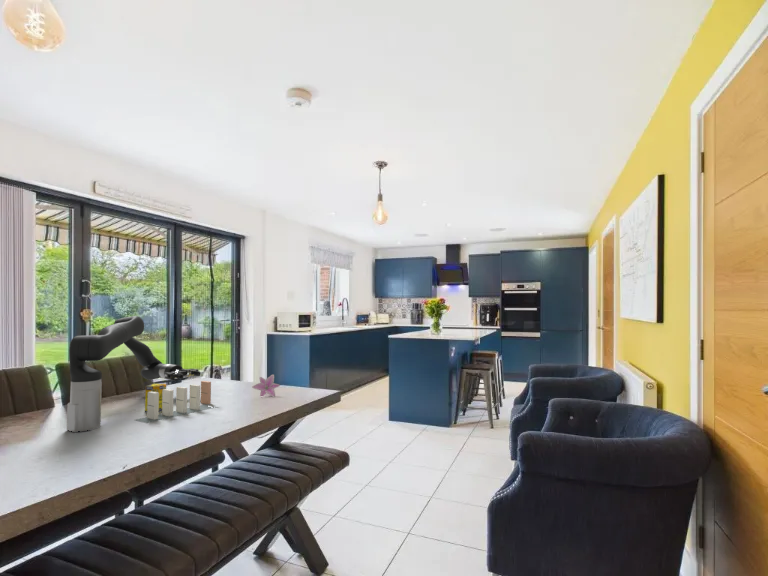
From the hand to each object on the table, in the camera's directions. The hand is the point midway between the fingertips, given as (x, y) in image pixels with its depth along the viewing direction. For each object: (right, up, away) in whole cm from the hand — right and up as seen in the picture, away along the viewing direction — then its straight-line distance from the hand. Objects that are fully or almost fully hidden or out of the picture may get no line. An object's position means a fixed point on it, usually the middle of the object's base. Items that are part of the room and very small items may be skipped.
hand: (191, 375), depth 199 cm
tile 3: (+6, -10, -23) cm, 26 cm away
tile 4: (+3, -10, -28) cm, 30 cm away
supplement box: (-6, -11, -20) cm, 24 cm away
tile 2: (+10, -11, -18) cm, 23 cm away
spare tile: (+10, -12, -7) cm, 16 cm away
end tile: (0, -10, -33) cm, 35 cm away
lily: (+32, -13, +10) cm, 36 cm away
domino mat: (+6, -11, -25) cm, 28 cm away
